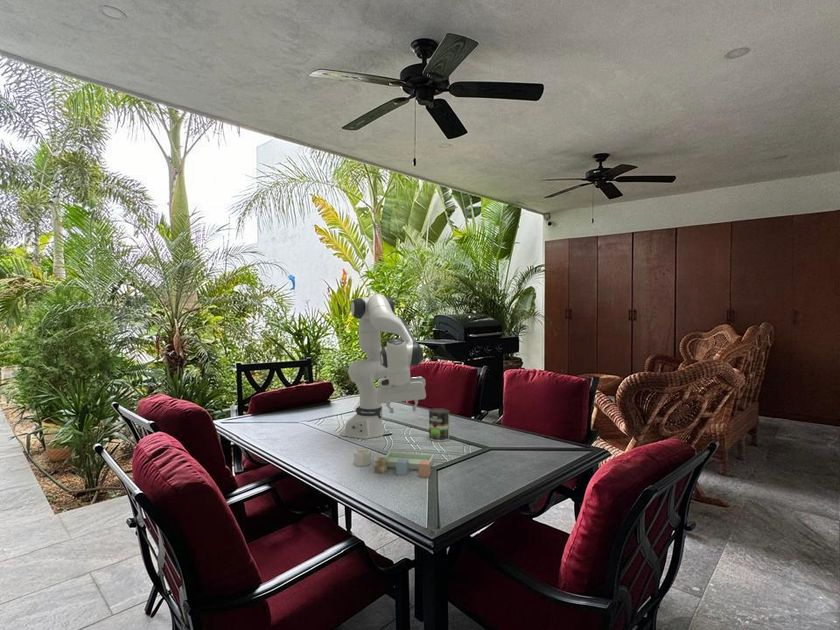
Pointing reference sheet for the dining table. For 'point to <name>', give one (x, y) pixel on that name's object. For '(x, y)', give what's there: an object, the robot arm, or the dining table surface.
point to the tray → (412, 457)
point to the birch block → (380, 465)
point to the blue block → (402, 466)
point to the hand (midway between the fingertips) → (403, 411)
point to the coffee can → (439, 424)
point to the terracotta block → (424, 468)
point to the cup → (362, 457)
